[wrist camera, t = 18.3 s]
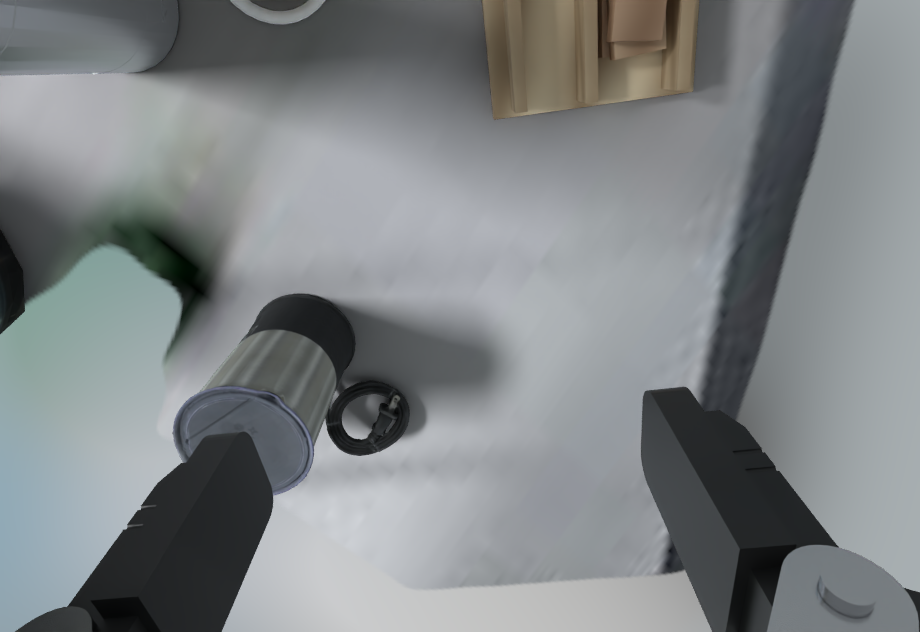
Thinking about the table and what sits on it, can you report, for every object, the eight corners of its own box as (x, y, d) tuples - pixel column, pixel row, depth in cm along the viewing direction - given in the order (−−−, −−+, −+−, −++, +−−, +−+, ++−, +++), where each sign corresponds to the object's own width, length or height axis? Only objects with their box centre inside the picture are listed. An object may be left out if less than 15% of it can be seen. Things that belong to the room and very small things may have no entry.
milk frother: (261, 278, 43) (172, 373, 30) (436, 324, 45) (425, 432, 32) (245, 406, 50) (165, 531, 36) (400, 442, 52) (379, 573, 38)
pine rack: (493, 117, 37) (496, 124, 33) (473, -82, 32) (475, -103, 28) (684, 90, 37) (711, 94, 32) (697, -119, 31) (732, -146, 27)
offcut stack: (596, 61, 34) (611, 61, 31) (595, -49, 32) (612, -63, 28) (652, 53, 34) (673, 52, 31) (656, -59, 31) (680, -74, 28)
